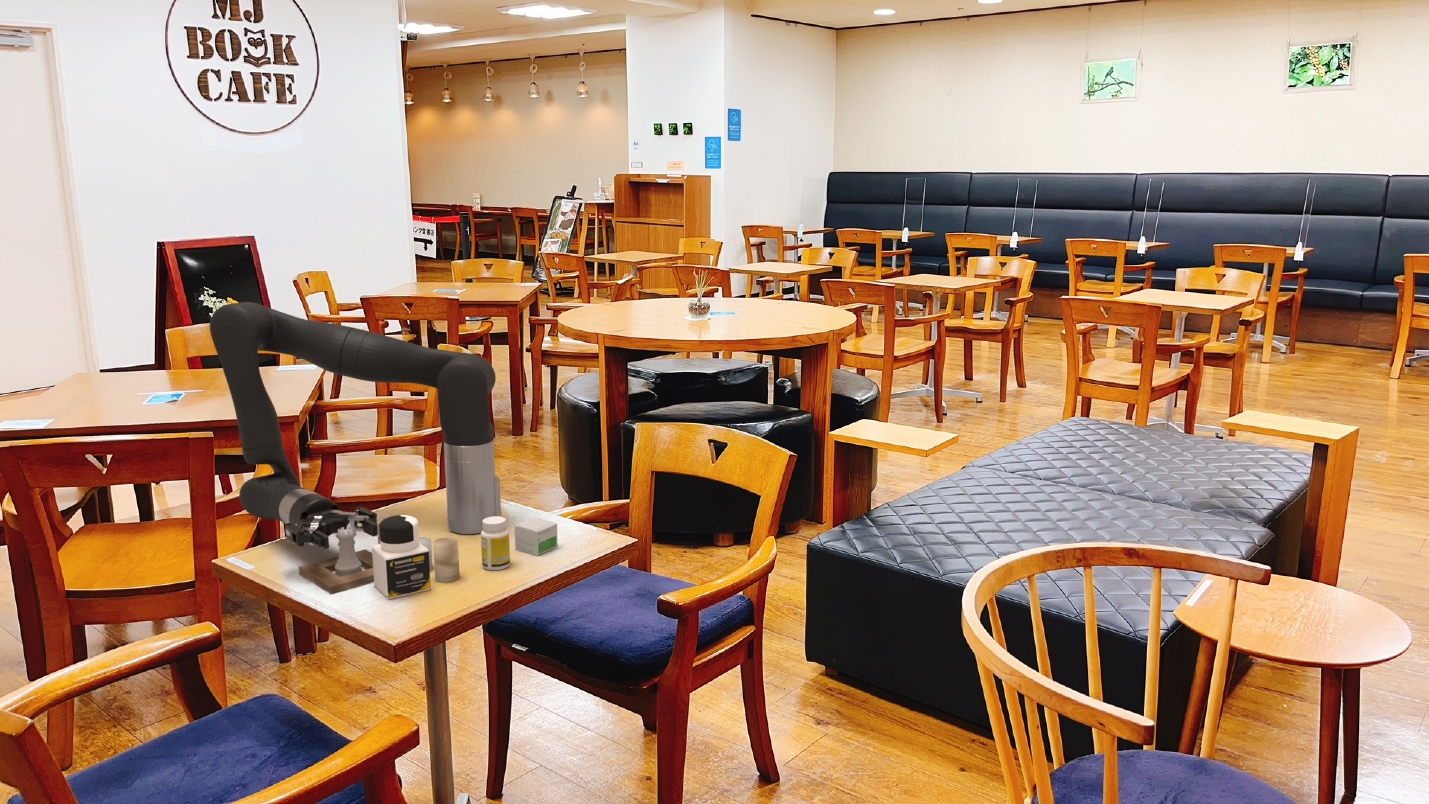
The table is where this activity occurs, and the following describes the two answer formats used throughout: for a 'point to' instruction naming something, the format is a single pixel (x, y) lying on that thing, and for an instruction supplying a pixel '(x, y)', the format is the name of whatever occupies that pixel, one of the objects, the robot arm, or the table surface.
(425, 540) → the short grey peg
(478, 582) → the table surface
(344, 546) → the rook chess piece
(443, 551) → the medium beech peg
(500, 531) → the supplement bottle
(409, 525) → the medicine bottle
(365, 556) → the hole board
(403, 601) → the table surface
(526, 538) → the small box
